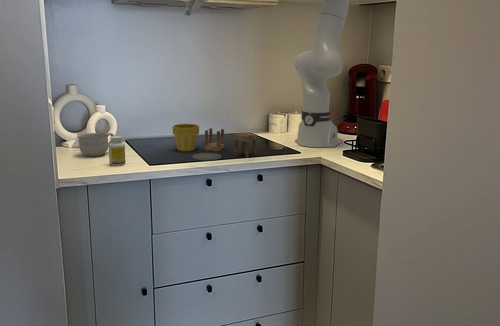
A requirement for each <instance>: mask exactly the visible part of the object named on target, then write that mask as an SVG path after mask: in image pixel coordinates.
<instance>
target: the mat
mask: <svg viewBox="0 0 500 326" xmlns="http://www.w3.org/2000/svg"><path fill="white" fill-rule="evenodd" d="M191 157H192V159H194V160H196V161H204V162H205V161H217V159H218V160H220V159H222V158H223V157H222V154H219V153H214V152H199V153H195V154H193V155H192V156H191Z"/></svg>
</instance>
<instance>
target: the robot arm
mask: <svg viewBox="0 0 500 326" xmlns="http://www.w3.org/2000/svg"><path fill="white" fill-rule="evenodd" d="M206 2H209V0H184V3H185V4H186V9H185V11H184V16H186V17H190V16H191V13H192V14H194V15H196V14H198V12H199V10H200V8H201V7H202V6H203V4H205V3H206ZM349 6H350V0H322V4H321V8H320V11H319V14H318V17H317V20H316V23H315V27H314V30H313V35H314V37H315V49H314V50H311V49H310V50H306V51H303V52H301V53H299V54H298V55H297V56H296V58H295V61H294V67H295V70H296V71H297V74H298V75H299V78H300V82H301V86H302V99H303V100H302V111H301V113H300V114H301V115H300V116H301V117H300V119H301V122H299V124H298V129H297V138H296V139H295V140H294V143H297V145H299V146H303V147H308V148H336V147H337V146H338V145H339V144H341V143H343V141H344V139H343V138H339V137H338V134H339V133H338V132H339V131H338V127H337V126H336V125H335V124H334V123H333V121H332V117H333V116H334V114H335V113H334V111H330V108H331V107H330V106H331V105H330V103H331V92H330V90H329V89H328V86H327V85H326V82H325V81H326V80H328V79H333V78H336V77H338V76H339V75H340V74H341V73H342V71H343V68H344V61H343V58H342V56H341V54H340V53H341V52H340V44H341V43H340V42H341V37H342V35H343V30H344V27H345V23H346V20H347V16H348V12H349Z"/></svg>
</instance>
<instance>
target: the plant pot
mask: <svg viewBox="0 0 500 326" xmlns="http://www.w3.org/2000/svg"><path fill="white" fill-rule="evenodd" d="M172 134H173V135H174V139H175V143H176V148H177V151H180V152H192V151H194V150H195V149H196V145H197V144H196V143H197V139H198V135H199V134H200V125H198V124H195V123H177V124H173V125H172Z"/></svg>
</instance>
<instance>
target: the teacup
mask: <svg viewBox="0 0 500 326" xmlns="http://www.w3.org/2000/svg"><path fill="white" fill-rule="evenodd" d="M112 136H115V134H113V133H112V132H108V133H106V132H91V133H83V134H78V135H77V139H78V147H79V151H80V152H81V153H82V154H83V155H84V156H86V157H99V156H104V155H105V154H106V152H107V151H109V144H110V143H111V140H110V141H109V137H112Z"/></svg>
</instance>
